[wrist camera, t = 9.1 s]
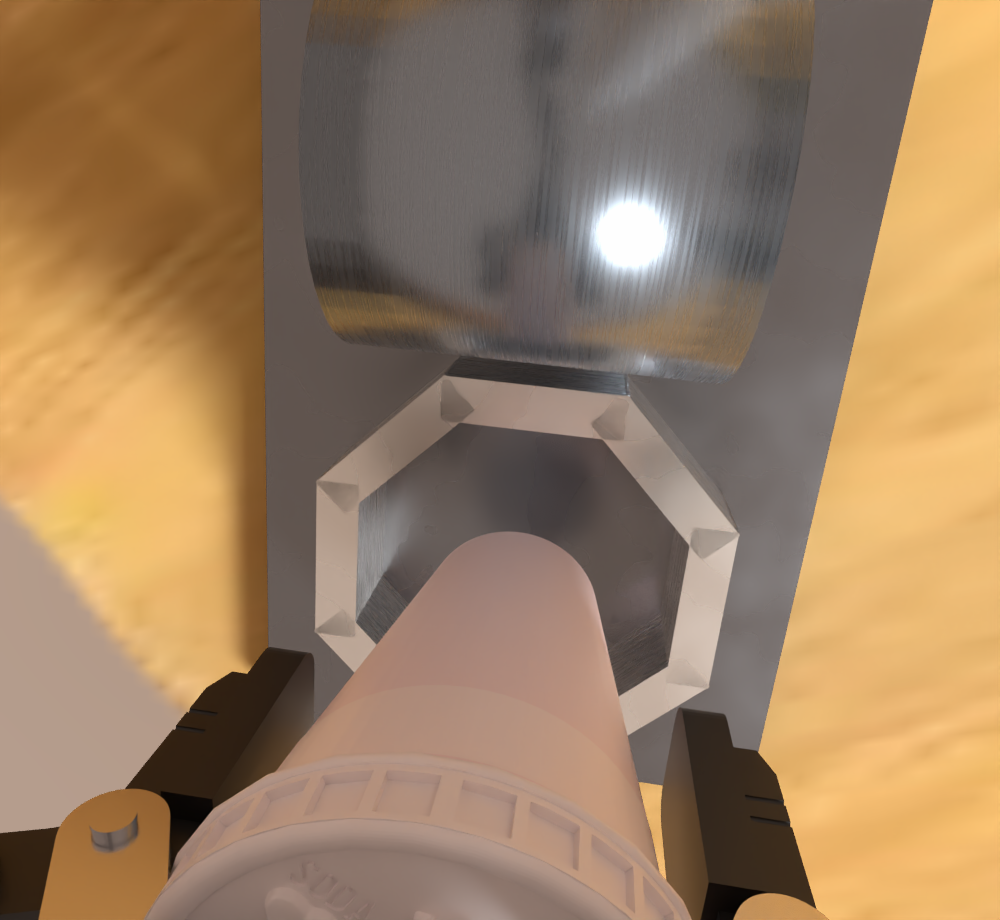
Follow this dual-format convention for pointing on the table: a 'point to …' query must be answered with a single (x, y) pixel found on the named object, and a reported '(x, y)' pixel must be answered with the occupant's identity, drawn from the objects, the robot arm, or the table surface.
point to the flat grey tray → (569, 311)
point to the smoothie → (450, 772)
